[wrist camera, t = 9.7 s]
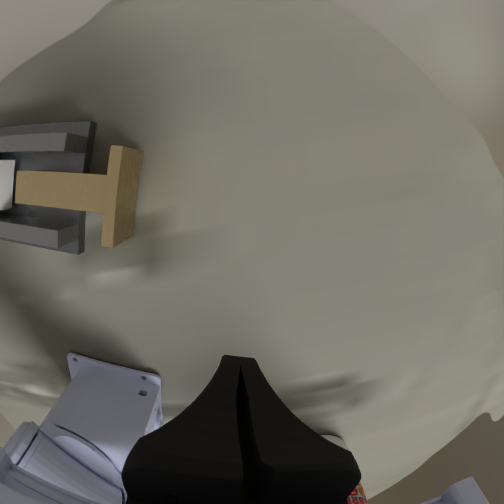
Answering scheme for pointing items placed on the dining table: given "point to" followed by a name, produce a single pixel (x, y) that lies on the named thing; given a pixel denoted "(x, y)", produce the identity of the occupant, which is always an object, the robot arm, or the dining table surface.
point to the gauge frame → (47, 159)
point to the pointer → (6, 183)
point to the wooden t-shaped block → (90, 192)
